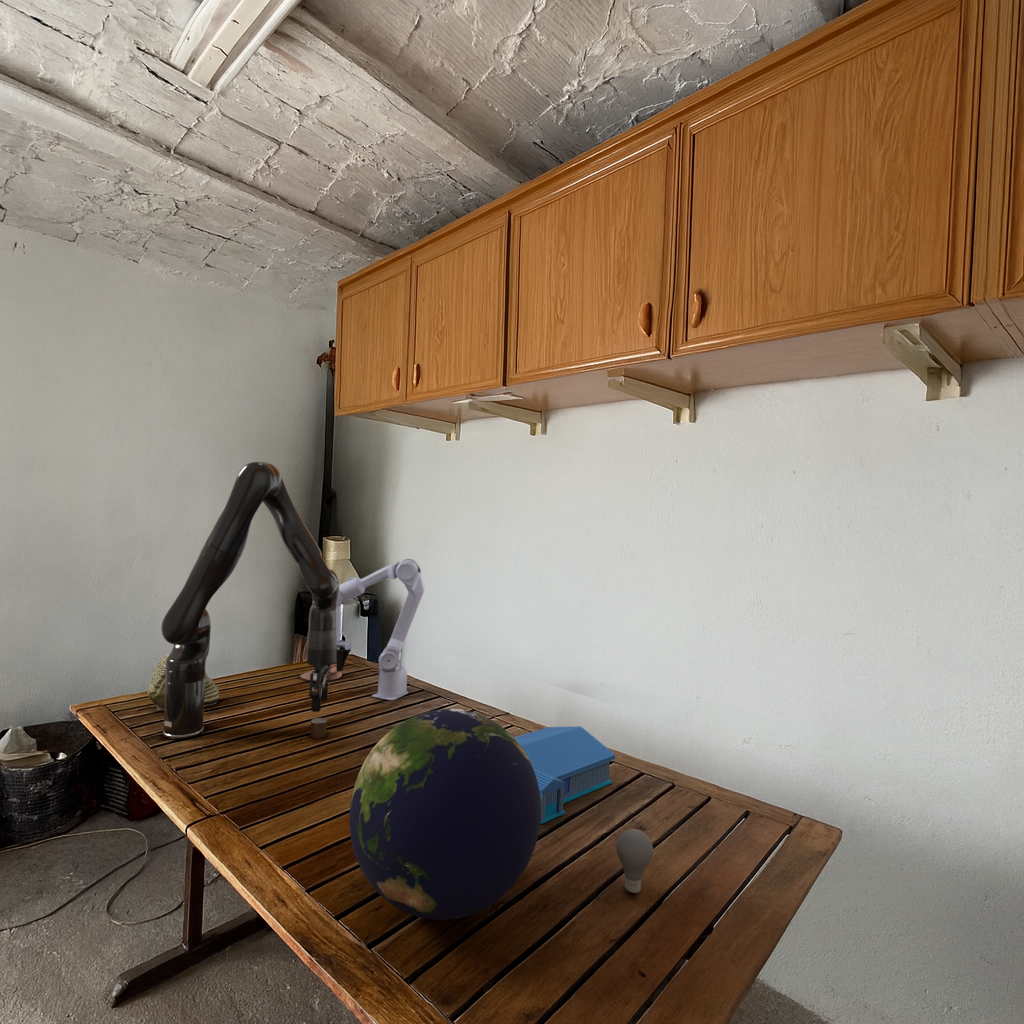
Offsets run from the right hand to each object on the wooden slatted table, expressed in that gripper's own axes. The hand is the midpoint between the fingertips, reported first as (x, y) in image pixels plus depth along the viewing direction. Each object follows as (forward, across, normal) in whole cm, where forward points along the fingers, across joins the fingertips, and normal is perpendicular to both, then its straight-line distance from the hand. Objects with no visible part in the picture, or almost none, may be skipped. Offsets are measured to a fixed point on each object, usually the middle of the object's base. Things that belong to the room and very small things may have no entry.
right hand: (330, 669), depth 202 cm
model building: (+8, +81, -33) cm, 88 cm away
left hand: (0, +20, -29) cm, 35 cm away
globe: (+8, +84, -74) cm, 112 cm away
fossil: (+8, -28, -30) cm, 42 cm away
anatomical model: (+8, -15, +14) cm, 22 cm away
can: (+8, +20, -29) cm, 36 cm away
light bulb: (+8, +110, -57) cm, 125 cm away
